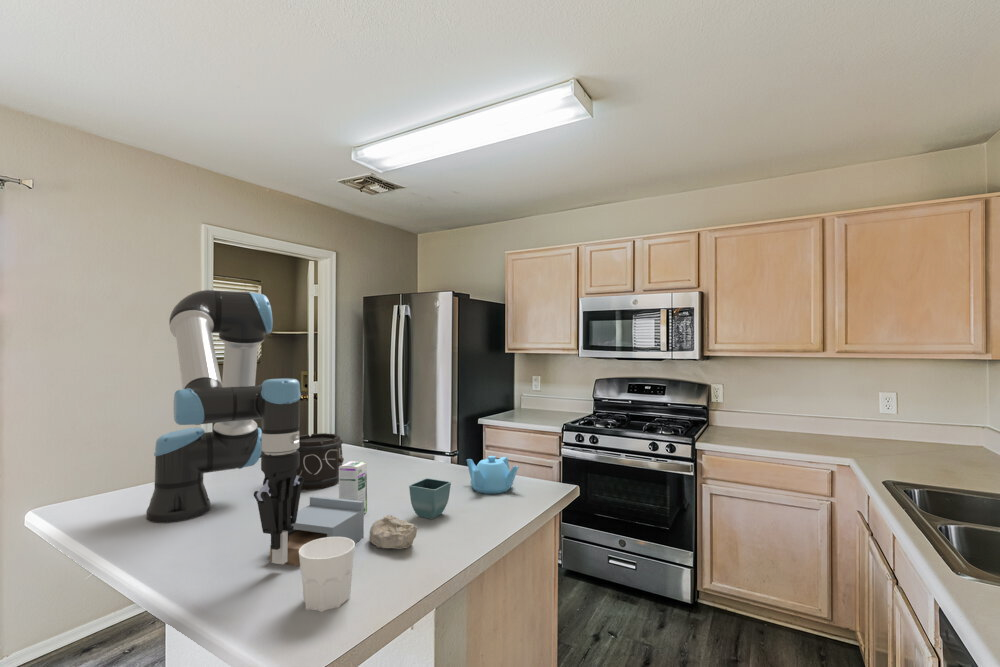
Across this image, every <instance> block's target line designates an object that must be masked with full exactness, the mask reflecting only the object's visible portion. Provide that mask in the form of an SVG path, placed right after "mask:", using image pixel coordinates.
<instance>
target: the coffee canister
mask: <svg viewBox="0 0 1000 667" xmlns="http://www.w3.org/2000/svg"><path fill="white" fill-rule="evenodd" d="M343 443H344V442H343V440H342V439H341V436H340V435H337V434H335V433H326V432H324V433H323V432H321V433H311V435H309V433H308V434H302V435H299V448H298V449H297V450H298V451H299V452H300V465H299V468H298V469H296V472H297V476H299V477H304V482H303V485H302V488H301V490H306V491H308V490H317V489H318V490H319V489H326V488H329V487H332V486H335V485H337V483H338V484H339V466H342V465H343V462H344V460H345V459H344V457H343V447H342V444H343Z"/></svg>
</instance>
